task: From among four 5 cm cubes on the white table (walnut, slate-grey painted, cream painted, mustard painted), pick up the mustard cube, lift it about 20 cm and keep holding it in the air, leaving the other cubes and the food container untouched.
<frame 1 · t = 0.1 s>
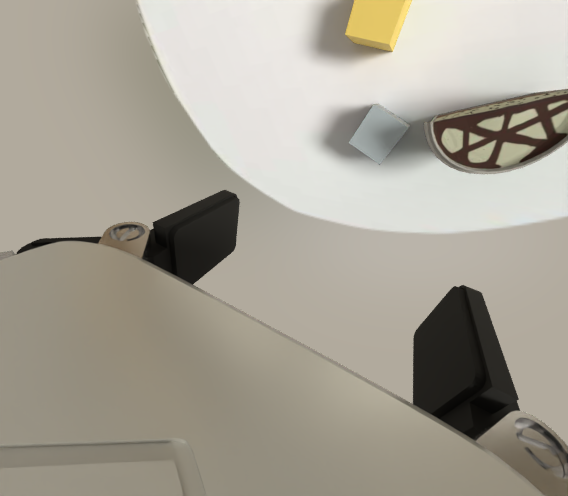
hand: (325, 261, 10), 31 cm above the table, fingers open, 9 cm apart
slate cube: (381, 131, 34), on the table
mustard cube: (381, 20, 29), on the table
food container: (479, 132, 30), on the table
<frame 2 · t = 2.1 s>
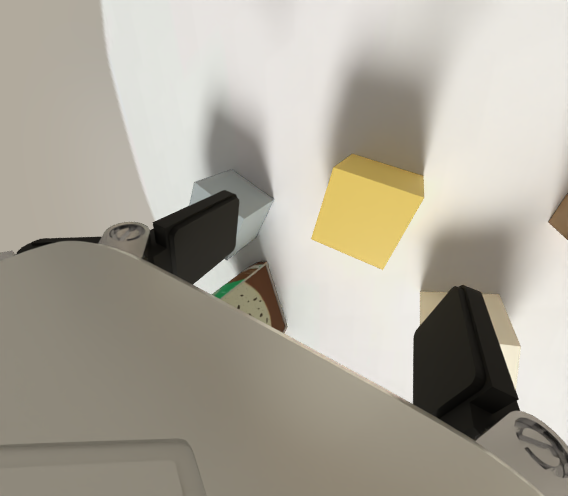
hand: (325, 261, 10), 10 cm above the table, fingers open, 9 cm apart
slate cube: (245, 204, 24), on the table
cream cube: (457, 317, 20), on the table
mustard cube: (372, 196, 18), on the table
food container: (257, 293, 30), on the table
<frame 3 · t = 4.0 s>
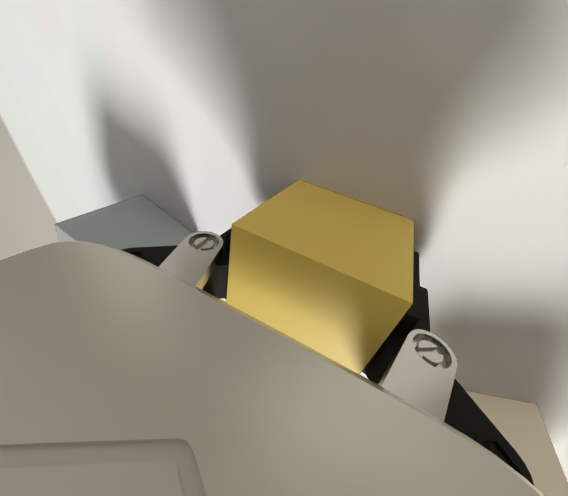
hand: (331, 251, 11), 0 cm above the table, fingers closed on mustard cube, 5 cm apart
slate cube: (167, 242, 17), on the table
cream cube: (467, 419, 13), on the table
mustard cube: (334, 246, 12), on the table, touching gripper
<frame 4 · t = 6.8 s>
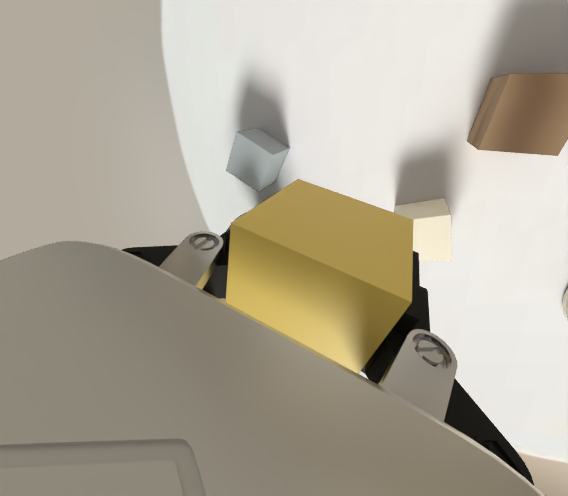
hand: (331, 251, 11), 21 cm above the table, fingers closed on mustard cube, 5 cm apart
walnut cube: (511, 112, 21), on the table
slate cube: (267, 155, 33), on the table
cream cube: (420, 221, 29), on the table
mustard cube: (333, 246, 12), point 20 cm above the table, touching gripper
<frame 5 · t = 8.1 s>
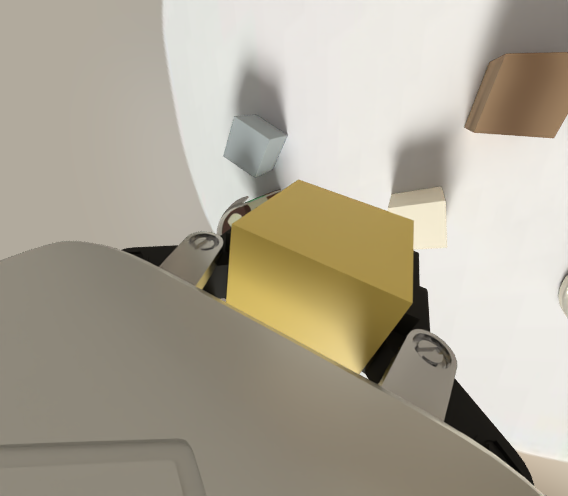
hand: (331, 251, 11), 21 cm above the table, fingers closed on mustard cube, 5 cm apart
walnut cube: (509, 97, 21), on the table
slate cube: (265, 143, 33), on the table
cream cube: (416, 210, 29), on the table
mustard cube: (334, 246, 12), point 21 cm above the table, touching gripper
food container: (272, 220, 38), on the table
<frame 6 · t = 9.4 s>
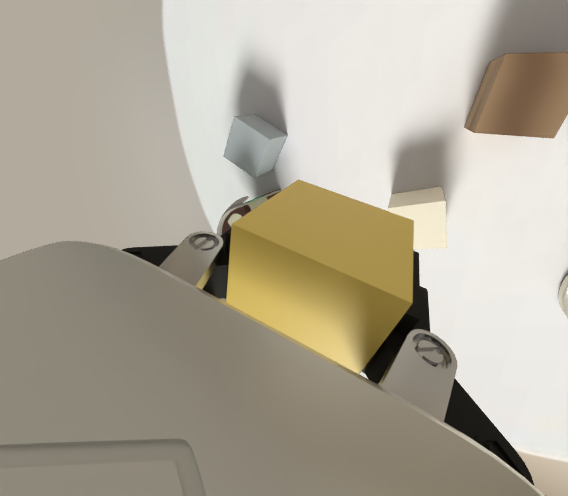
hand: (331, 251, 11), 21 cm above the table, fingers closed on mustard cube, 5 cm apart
walnut cube: (509, 97, 21), on the table
slate cube: (265, 143, 33), on the table
cream cube: (416, 210, 29), on the table
mustard cube: (334, 246, 12), point 21 cm above the table, touching gripper
food container: (272, 220, 38), on the table
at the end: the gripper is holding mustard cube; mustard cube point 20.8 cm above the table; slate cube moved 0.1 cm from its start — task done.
